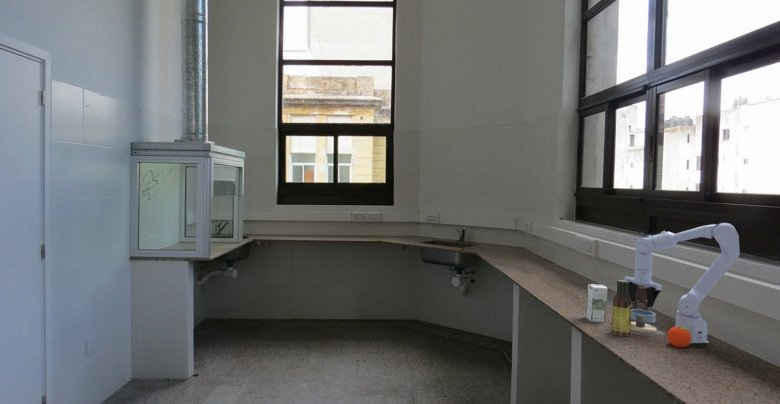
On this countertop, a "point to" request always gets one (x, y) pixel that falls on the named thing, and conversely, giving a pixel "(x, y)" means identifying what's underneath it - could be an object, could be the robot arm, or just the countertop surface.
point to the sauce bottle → (622, 310)
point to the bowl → (648, 315)
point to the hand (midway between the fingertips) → (640, 304)
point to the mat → (647, 334)
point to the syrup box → (596, 303)
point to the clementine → (679, 336)
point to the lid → (642, 326)
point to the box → (640, 298)
